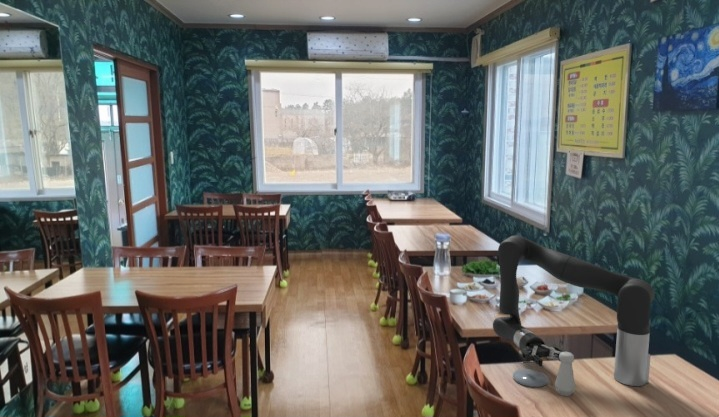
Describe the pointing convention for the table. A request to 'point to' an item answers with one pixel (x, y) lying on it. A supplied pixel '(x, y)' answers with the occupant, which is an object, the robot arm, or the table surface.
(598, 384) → the table surface
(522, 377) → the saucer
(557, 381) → the salt shaker
